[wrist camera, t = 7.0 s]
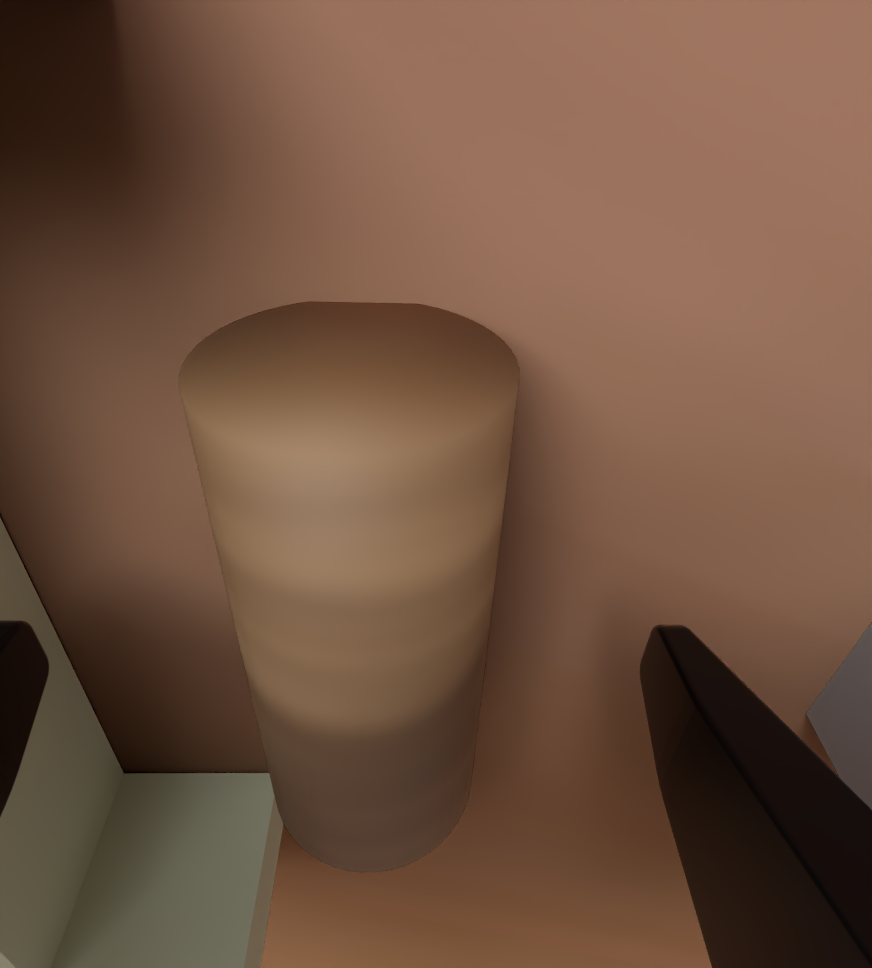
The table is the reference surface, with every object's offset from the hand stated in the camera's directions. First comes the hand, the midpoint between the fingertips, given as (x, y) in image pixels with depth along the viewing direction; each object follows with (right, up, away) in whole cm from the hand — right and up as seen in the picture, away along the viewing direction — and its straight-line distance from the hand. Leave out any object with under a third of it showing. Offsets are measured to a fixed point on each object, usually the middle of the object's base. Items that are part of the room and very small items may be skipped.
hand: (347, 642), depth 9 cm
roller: (0, +1, +2) cm, 2 cm away
